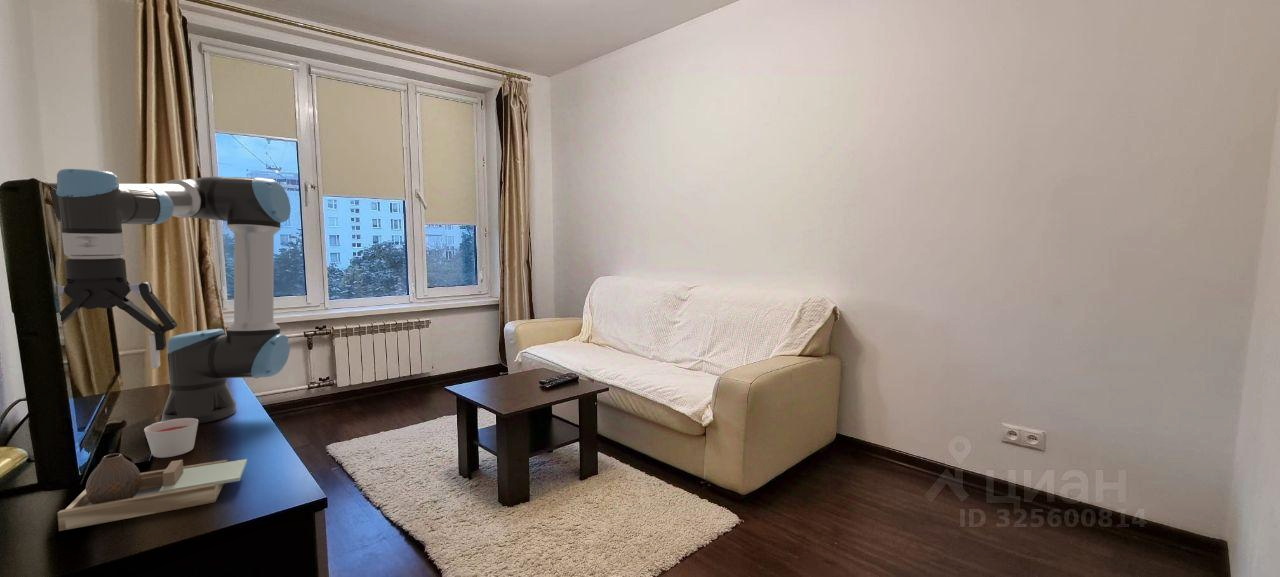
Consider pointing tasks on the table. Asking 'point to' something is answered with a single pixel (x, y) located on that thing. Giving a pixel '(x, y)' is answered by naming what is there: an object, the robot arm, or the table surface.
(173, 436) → the candle
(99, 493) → the vase
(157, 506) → the wooden box
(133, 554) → the table surface
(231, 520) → the table surface
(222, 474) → the lid
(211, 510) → the table surface
